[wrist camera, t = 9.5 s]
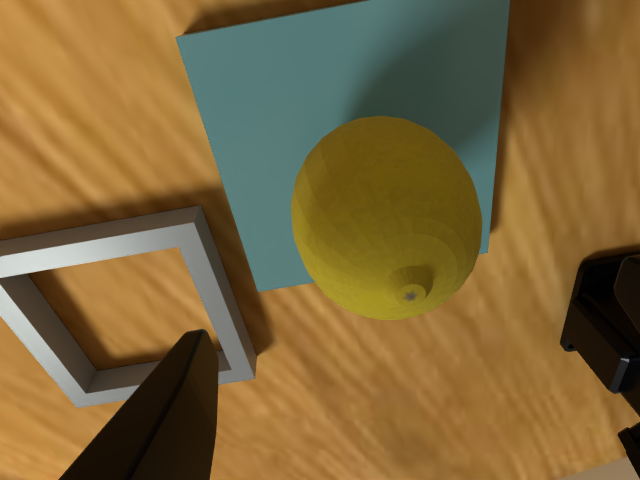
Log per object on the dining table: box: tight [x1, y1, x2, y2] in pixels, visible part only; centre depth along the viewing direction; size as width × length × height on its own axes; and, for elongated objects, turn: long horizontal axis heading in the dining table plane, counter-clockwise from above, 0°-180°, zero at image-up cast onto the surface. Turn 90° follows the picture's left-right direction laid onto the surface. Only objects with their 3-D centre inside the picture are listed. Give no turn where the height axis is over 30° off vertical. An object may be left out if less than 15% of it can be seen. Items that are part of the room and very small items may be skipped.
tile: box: [175, 0, 510, 292], centre depth 16 cm, size 11×11×1 cm
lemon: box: [291, 116, 483, 320], centre depth 12 cm, size 6×6×8 cm
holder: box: [0, 205, 257, 408], centre depth 19 cm, size 10×10×2 cm
